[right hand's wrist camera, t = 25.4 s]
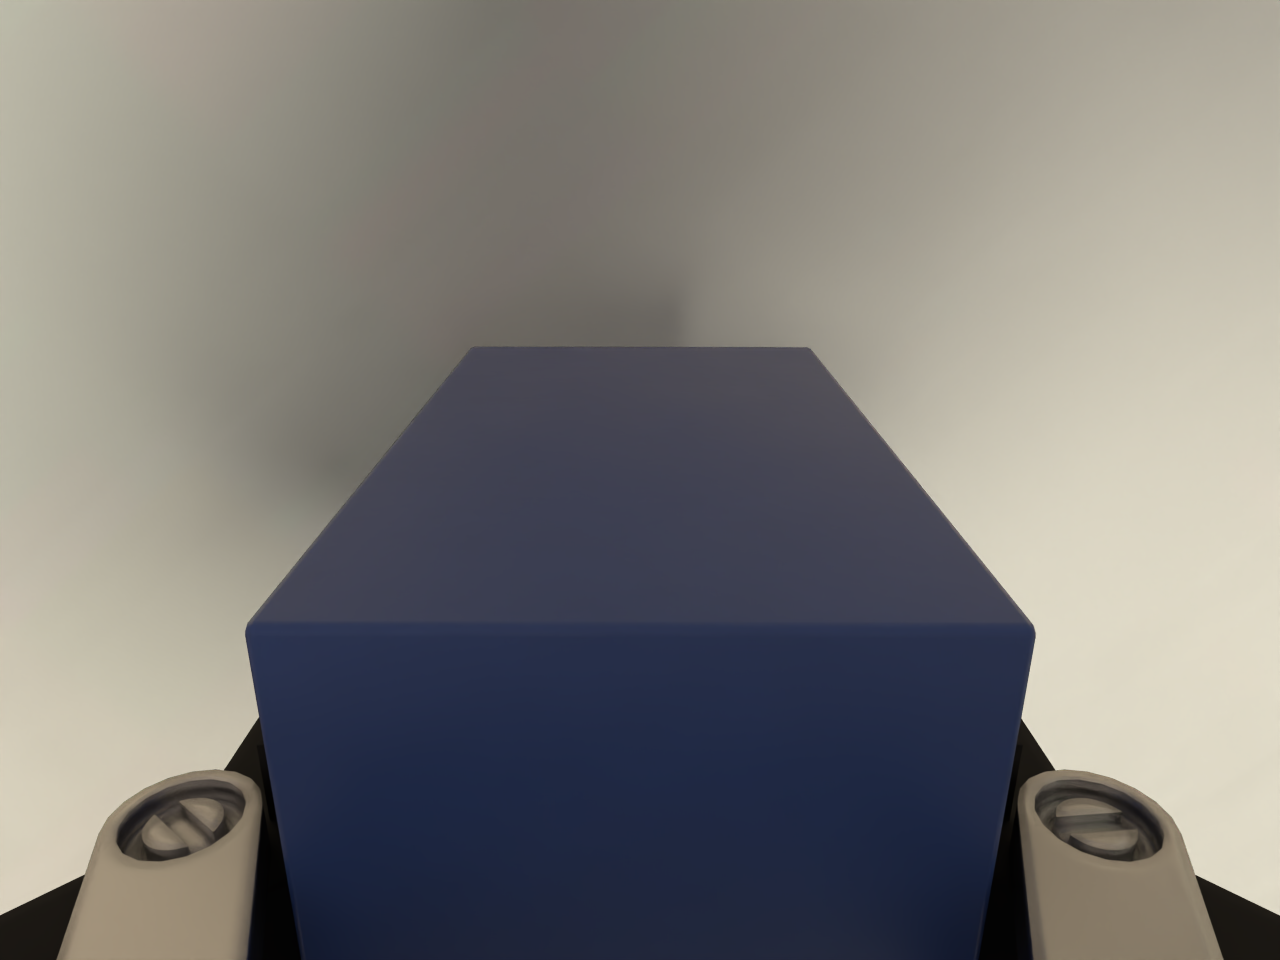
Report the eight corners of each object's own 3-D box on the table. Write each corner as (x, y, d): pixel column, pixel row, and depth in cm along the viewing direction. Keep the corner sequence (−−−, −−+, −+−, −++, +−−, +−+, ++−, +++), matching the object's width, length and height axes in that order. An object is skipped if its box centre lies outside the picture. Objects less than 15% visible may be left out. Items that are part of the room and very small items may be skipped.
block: (495, 741, 16) (358, 1313, 8) (470, 345, 14) (239, 626, 6) (784, 741, 16) (919, 1314, 8) (811, 346, 14) (1042, 628, 6)
